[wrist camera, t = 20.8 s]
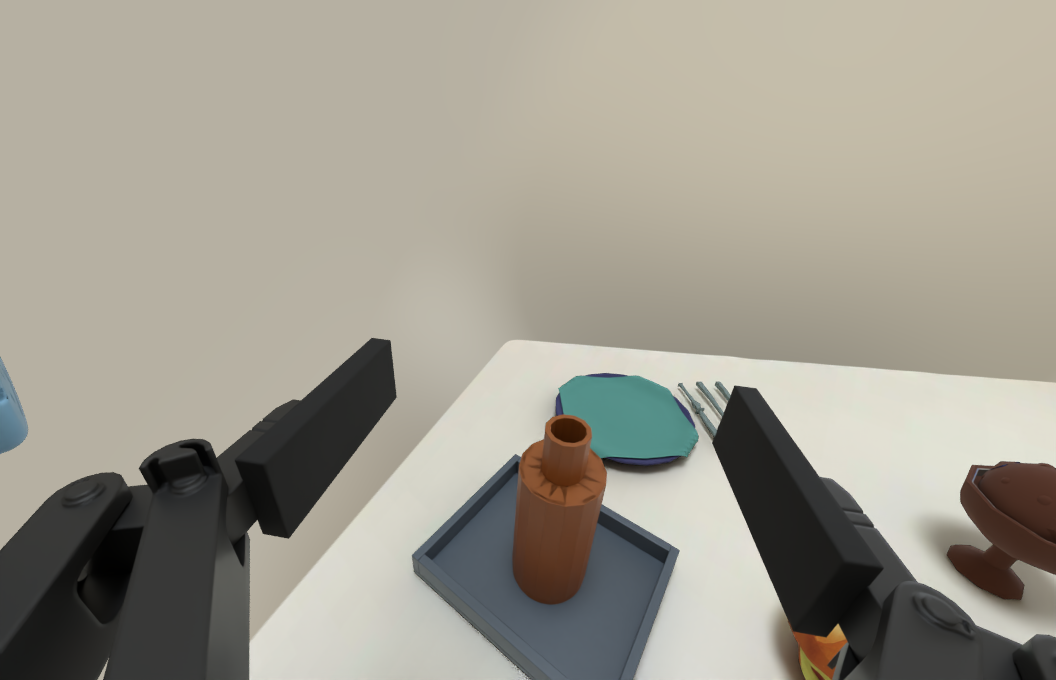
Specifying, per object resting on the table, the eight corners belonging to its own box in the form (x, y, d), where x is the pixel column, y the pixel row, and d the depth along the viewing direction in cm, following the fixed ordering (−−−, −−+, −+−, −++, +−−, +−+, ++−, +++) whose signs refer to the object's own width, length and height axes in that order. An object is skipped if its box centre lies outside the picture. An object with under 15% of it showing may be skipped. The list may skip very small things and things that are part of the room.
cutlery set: (545, 382, 63) (547, 370, 62) (714, 382, 66) (718, 371, 65) (566, 477, 46) (568, 463, 45) (793, 471, 49) (800, 458, 48)
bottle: (497, 572, 35) (503, 434, 27) (538, 520, 40) (553, 390, 32) (560, 622, 32) (588, 482, 24) (596, 558, 37) (630, 425, 29)
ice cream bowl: (1008, 540, 42) (1117, 440, 35) (1104, 654, 33) (1281, 549, 26) (894, 510, 45) (974, 411, 38) (954, 607, 35) (1076, 500, 28)
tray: (414, 571, 35) (411, 555, 34) (514, 469, 47) (515, 453, 45) (606, 748, 26) (612, 734, 25) (673, 565, 37) (680, 549, 36)
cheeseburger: (966, 848, 23) (1017, 756, 20) (764, 707, 30) (776, 622, 27) (955, 690, 30) (991, 602, 26) (792, 606, 37) (804, 528, 33)
